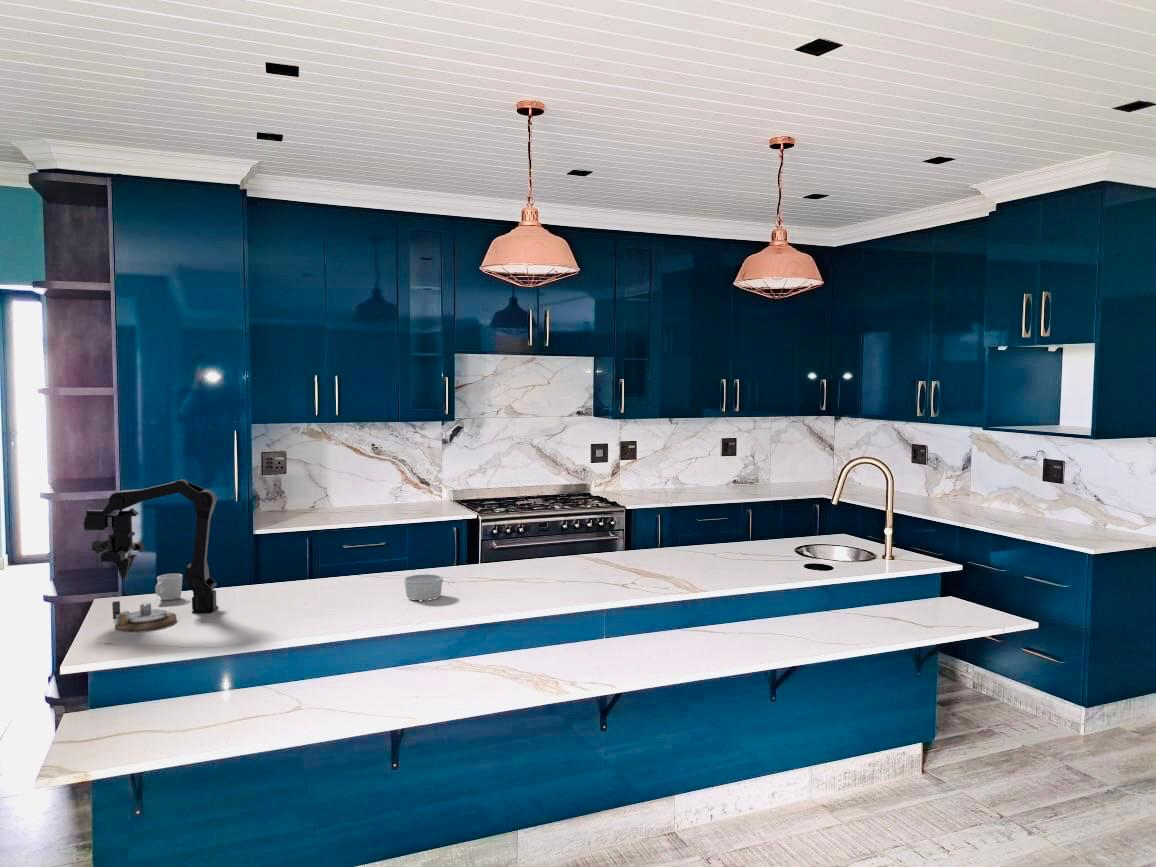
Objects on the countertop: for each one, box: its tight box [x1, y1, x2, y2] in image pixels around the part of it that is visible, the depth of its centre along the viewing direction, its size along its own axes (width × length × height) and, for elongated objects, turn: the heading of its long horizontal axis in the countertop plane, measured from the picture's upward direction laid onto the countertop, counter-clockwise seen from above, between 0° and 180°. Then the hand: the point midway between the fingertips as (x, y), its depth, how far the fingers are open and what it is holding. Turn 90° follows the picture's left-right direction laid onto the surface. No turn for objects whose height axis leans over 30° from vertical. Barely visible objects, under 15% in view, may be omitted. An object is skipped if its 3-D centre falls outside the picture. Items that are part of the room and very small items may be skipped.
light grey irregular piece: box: [111, 600, 168, 625], centre depth 259 cm, size 16×12×7 cm
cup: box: [154, 573, 184, 601], centre depth 290 cm, size 11×8×8 cm
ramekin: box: [403, 573, 444, 600], centre depth 292 cm, size 13×13×7 cm
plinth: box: [114, 611, 177, 633], centre depth 261 cm, size 17×17×4 cm
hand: (123, 578), depth 270 cm, fingers closed
